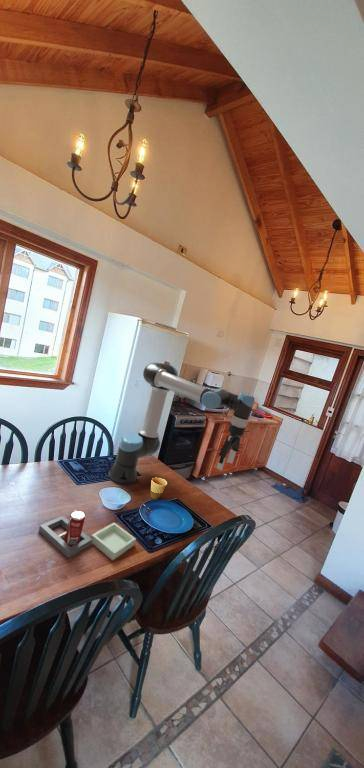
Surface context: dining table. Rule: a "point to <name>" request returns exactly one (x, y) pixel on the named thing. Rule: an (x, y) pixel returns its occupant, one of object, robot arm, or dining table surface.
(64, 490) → the dining table surface
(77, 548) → the frame
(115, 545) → the tray
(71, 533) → the soda can
